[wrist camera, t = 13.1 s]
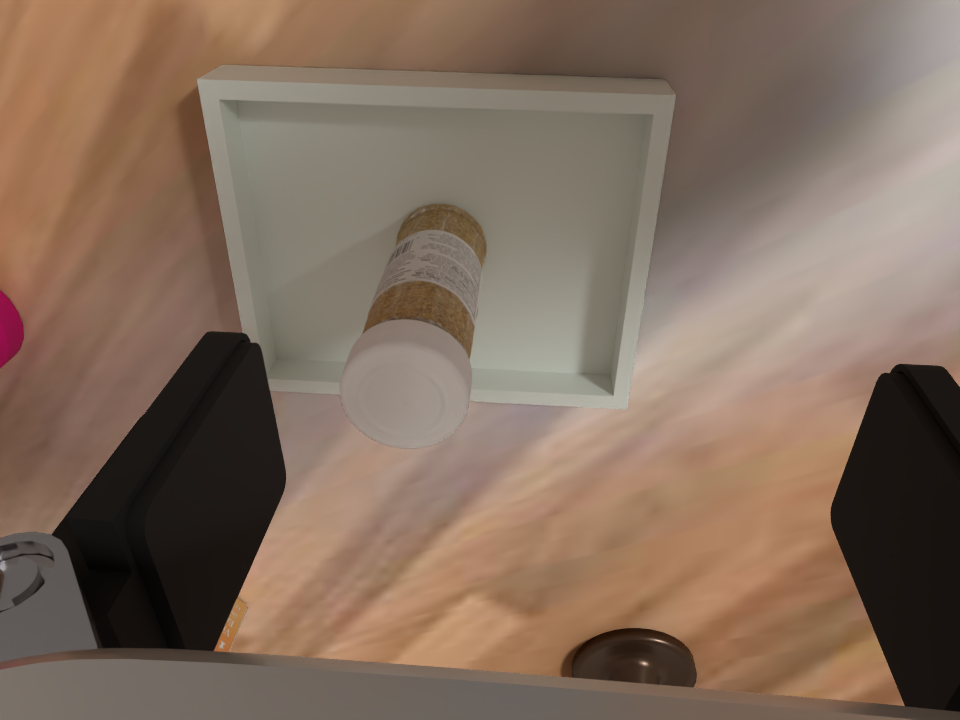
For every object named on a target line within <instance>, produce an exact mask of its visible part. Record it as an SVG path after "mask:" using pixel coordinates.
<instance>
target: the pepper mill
mask: <svg viewBox="0 0 960 720" xmlns="http://www.w3.org/2000/svg"><path fill="white" fill-rule="evenodd" d="M23 338H24V334H23V324H22V321H21V318H20V316H19V313H18V311H17V310H16V308H15V307H14V305H13V304H12V302H11V301H10V299H9V298H8V297H7V296H6V295H5V294H4V293H3V292H2V291H0V368H1V367H2V366H4V365H5V364H6V363H7V362H8V361H9V360H10V359H11V358H12V357H14V356H15V355H16V354H17V352H18V351H19V350H20V348H21V345H22V342H23Z"/></svg>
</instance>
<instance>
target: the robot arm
mask: <svg viewBox="0 0 960 720" xmlns="http://www.w3.org/2000/svg"><path fill="white" fill-rule="evenodd" d="M285 483H286V470H285V464H284V459H283V454H282V449H281V444H280V439H279V434H278V429H277V424H276V419H275V414H274V409H273V404H272V399H271V394H270V389H269V384H268V379H267V374H266V369H265V364H264V359H263V354H262V350H261V347H260V345H259V344H258V343H252V342H251V341H250V339H249V337H248V335H247V334H245V333H234V332H213V331H211V332H207V333H206V334H205V335H204V336H203V337H202V338H201V340H200V341H199V342H198V344H197V345H196V346H195V348H194V349H193V350H192V352H191V353H190V354H189V356H188V357H187V358H186V360H185V361H184V362H183V364H182V365H181V366H180V368H179V369H178V370H177V372H176V373H175V374H174V376H173V377H172V378H171V379H170V381H169V382H168V383H167V385H166V386H165V387H164V389H163V390H162V391H161V393H160V394H159V395H158V397H157V398H156V399H155V401H154V402H153V403H152V405H151V406H150V407H149V409H148V410H147V411H146V413H145V414H144V415H143V416H142V417H141V418H140V419H139V420H138V421H137V423H136V424H135V425H134V426H133V428H132V429H131V430H130V432H129V433H128V434H127V436H126V437H125V438H124V440H123V441H122V442H121V444H120V445H119V446H118V448H117V449H116V450H115V452H114V453H113V454H112V456H111V457H110V458H109V459H108V461H107V462H106V463H105V465H104V466H103V467H102V469H101V470H100V471H99V473H98V474H97V475H96V477H95V478H94V479H93V481H92V482H91V483H90V485H89V486H88V487H87V488H86V490H85V491H84V492H83V494H82V495H81V496H80V498H79V499H78V500H77V502H76V503H75V504H74V506H73V507H72V508H71V510H70V511H69V512H68V514H67V515H66V516H65V518H64V519H63V520H62V521H61V523H60V524H59V525H58V527H57V528H56V529H55V531H54V532H53V533H52V535H50V534H45V533H38V532H27V533H17V534H12V535H9V536H5V537H2V538H0V720H960V387H959V386H958V384H957V383H956V382H955V380H954V379H953V378H952V376H951V375H950V374H949V373H948V371H947V370H946V369H945V368H943V367H941V366H933V365H912V364H899V365H896V366H895V367H894V368H893V369H892V370H891V372H890V373H884V374H881V375H880V377H879V378H878V380H877V382H876V385H875V387H874V390H873V393H872V396H871V398H870V401H869V404H868V407H867V409H866V412H865V415H864V418H863V420H862V423H861V426H860V428H859V431H858V434H857V437H856V439H855V442H854V445H853V448H852V450H851V453H850V456H849V459H848V461H847V464H846V467H845V470H844V472H843V475H842V478H841V481H840V483H839V486H838V489H837V492H836V494H835V497H834V500H833V502H832V506H831V524H832V528H833V531H834V533H835V536H836V538H837V540H838V543H839V545H840V548H841V550H842V553H843V555H844V558H845V560H846V563H847V565H848V567H849V570H850V572H851V575H852V577H853V580H854V582H855V585H856V587H857V589H858V592H859V594H860V597H861V599H862V602H863V604H864V607H865V609H866V612H867V614H868V616H869V619H870V621H871V624H872V626H873V629H874V631H875V634H876V636H877V638H878V641H879V643H880V646H881V648H882V651H883V653H884V656H885V658H886V661H887V663H888V665H889V668H890V670H891V673H892V675H893V678H894V680H895V683H896V685H897V687H898V690H899V692H900V695H901V697H902V700H903V702H904V705H905V706H897V705H887V704H877V703H866V702H854V701H843V700H831V699H820V698H808V697H796V696H785V695H773V694H762V693H750V692H738V691H727V690H715V689H704V688H692V687H680V686H668V685H656V684H644V683H631V682H619V681H607V680H595V679H582V678H570V677H558V676H545V675H533V674H520V673H508V672H495V671H483V670H470V669H458V668H444V667H431V666H418V665H405V664H391V663H378V662H365V661H352V660H338V659H325V658H312V657H299V656H285V655H269V654H252V653H235V652H218V651H214V649H215V647H216V645H217V643H218V640H219V638H220V636H221V633H222V631H223V629H224V627H225V624H226V622H227V620H228V618H229V615H230V613H231V611H232V608H233V606H234V604H235V602H236V599H237V597H238V595H239V593H240V590H241V588H242V586H243V583H244V581H245V579H246V577H247V574H248V572H249V570H250V568H251V565H252V563H253V561H254V558H255V556H256V554H257V552H258V549H259V547H260V545H261V543H262V540H263V538H264V536H265V533H266V531H267V529H268V527H269V524H270V522H271V520H272V518H273V515H274V513H275V511H276V509H277V506H278V504H279V502H280V499H281V497H282V495H283V492H284V489H285Z"/></svg>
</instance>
